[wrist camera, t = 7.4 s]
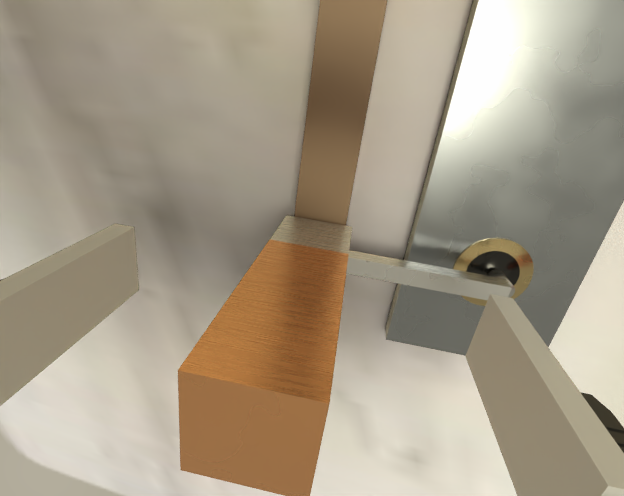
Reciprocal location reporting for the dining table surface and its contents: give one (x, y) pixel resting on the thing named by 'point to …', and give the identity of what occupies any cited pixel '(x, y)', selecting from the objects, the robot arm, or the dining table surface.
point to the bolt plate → (520, 165)
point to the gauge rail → (337, 106)
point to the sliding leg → (285, 355)
